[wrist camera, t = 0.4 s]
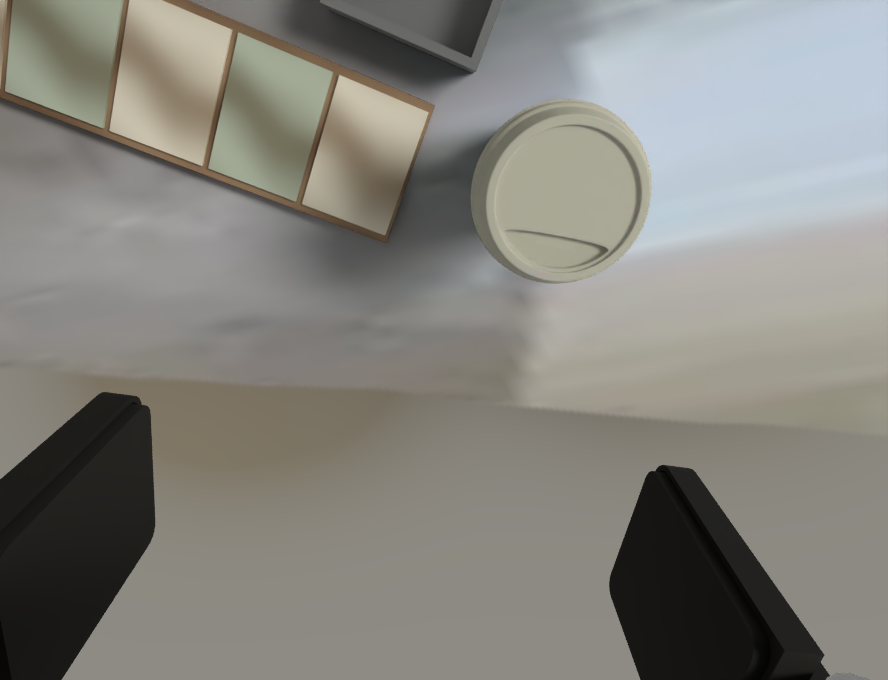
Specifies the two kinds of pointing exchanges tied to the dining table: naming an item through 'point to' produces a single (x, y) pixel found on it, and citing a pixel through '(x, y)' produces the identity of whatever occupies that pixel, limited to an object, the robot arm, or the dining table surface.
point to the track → (218, 102)
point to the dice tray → (428, 24)
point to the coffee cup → (561, 191)
